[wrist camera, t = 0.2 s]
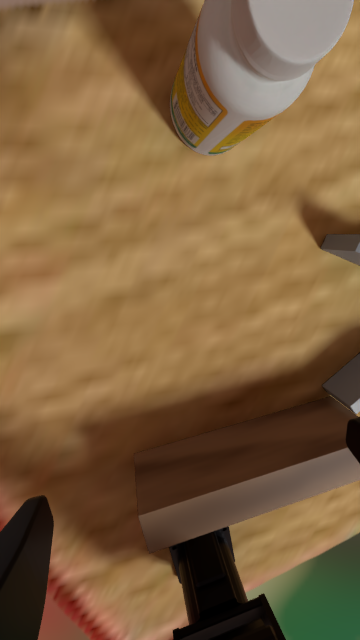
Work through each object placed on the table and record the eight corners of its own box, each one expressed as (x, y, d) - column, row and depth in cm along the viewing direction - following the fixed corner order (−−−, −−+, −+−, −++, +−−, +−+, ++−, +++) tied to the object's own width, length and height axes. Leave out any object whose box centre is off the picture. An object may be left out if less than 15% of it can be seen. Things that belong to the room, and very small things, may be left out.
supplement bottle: (159, 139, 18) (201, 40, 9) (182, 42, 16) (259, -190, 7) (232, 169, 19) (333, 112, 10) (259, 82, 18) (401, -70, 9)
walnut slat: (328, 426, 29) (379, 472, 23) (142, 484, 26) (149, 553, 20) (329, 395, 28) (383, 436, 22) (133, 452, 25) (138, 516, 19)
